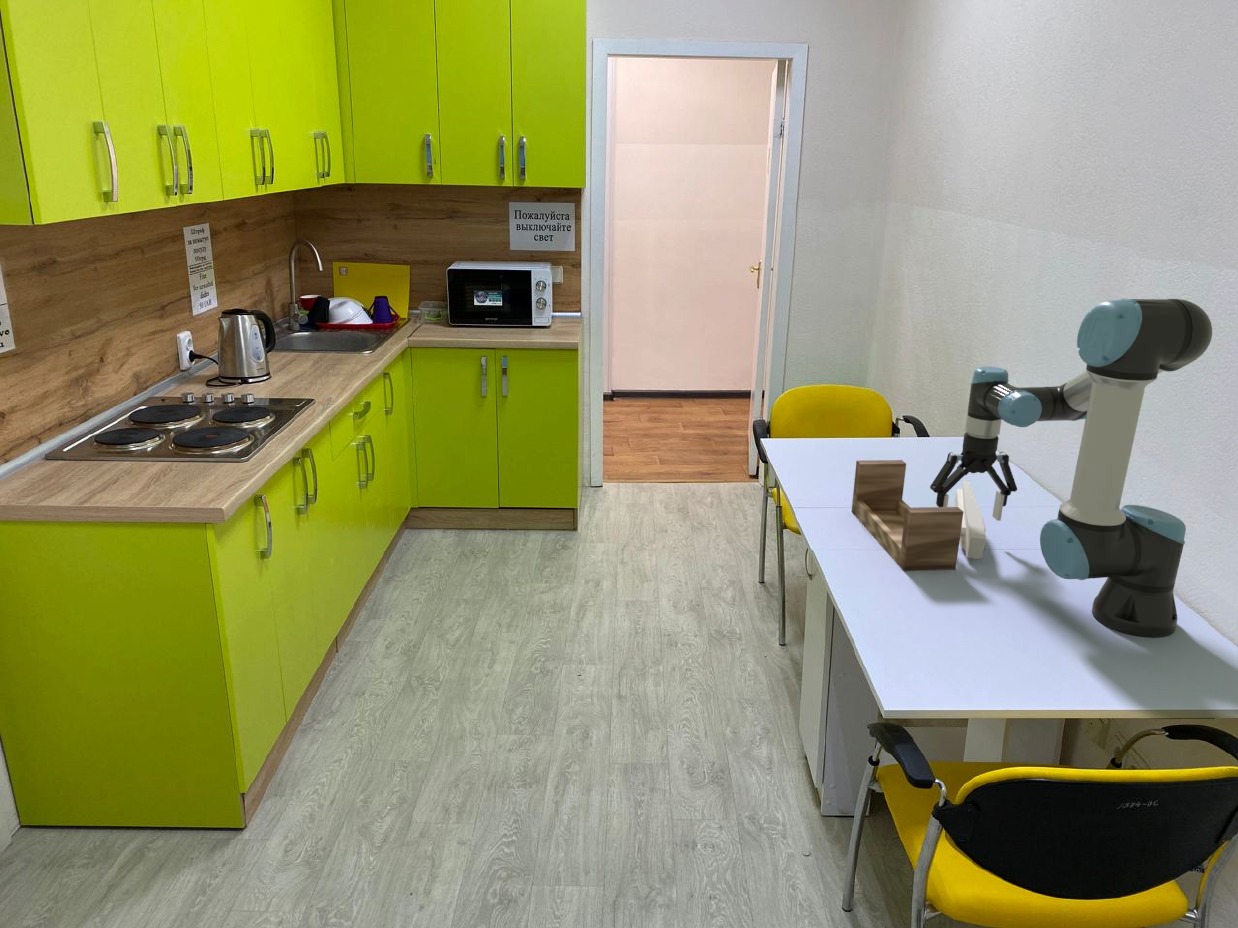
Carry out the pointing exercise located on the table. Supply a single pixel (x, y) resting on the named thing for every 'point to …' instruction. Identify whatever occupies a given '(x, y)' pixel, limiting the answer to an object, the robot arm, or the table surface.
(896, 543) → the cradle
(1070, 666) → the table surface
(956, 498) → the shelf bracket
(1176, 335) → the robot arm
